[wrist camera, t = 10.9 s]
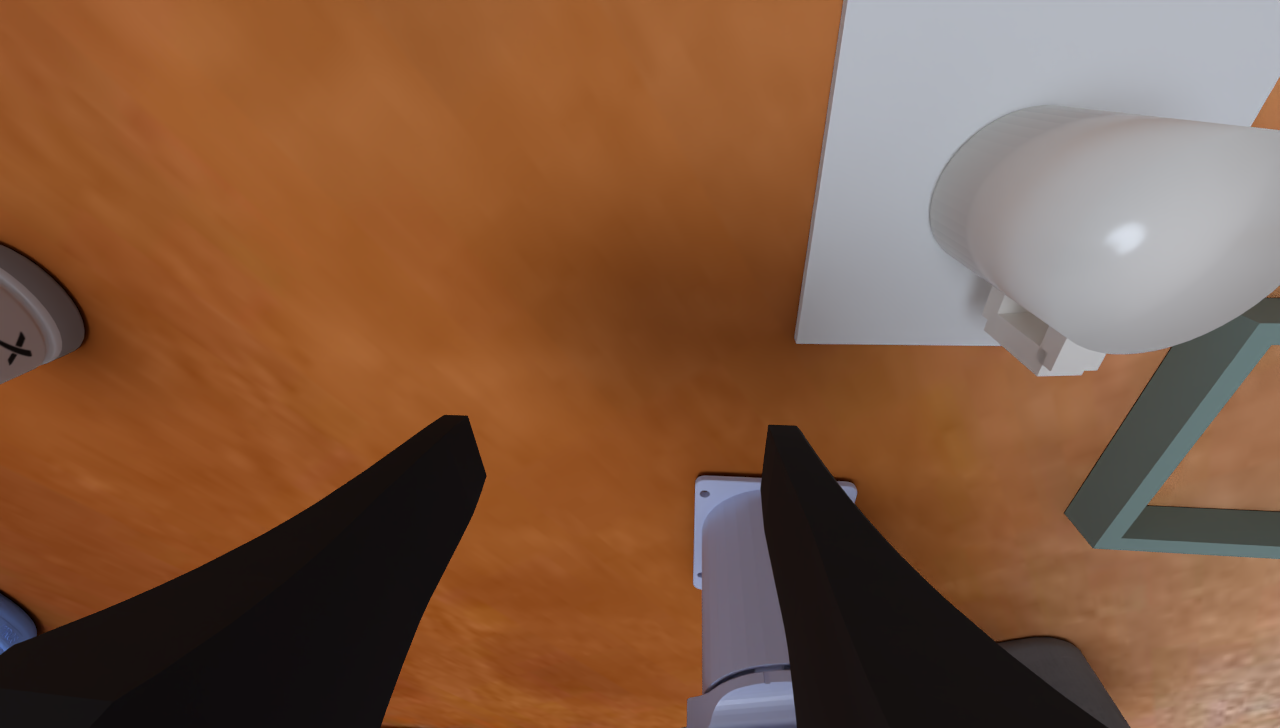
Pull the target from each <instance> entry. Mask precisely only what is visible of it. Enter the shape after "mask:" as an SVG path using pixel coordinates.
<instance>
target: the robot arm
mask: <svg viewBox="0 0 1280 728" xmlns="http://www.w3.org/2000/svg"><path fill="white" fill-rule="evenodd" d="M485 479H486V473H485V469H484V466H483V463H482V460H481V457H480V454H479V450H478V447H477V444H476V441H475V438H474V434H473V431H472V428H471V425H470V422H469V418H468V416H460V415H444V416H442V417H440V418H439V419H437V420H436V421H434V422H433V423H431V424H430V425H428V426H427V427H426V428H424V429H423V430H421V431H420V432H418V433H417V434H416V435H414V436H413V437H411V438H410V439H409V440H407V441H406V442H405V443H403V444H402V445H400V446H399V447H398V448H396V449H395V450H393V451H392V452H391V453H389V454H388V455H386V456H385V457H384V458H382V459H381V460H379V461H378V462H377V463H375V464H374V465H372V466H371V467H370V468H368V469H367V470H365V471H364V472H362V473H361V474H359V475H358V476H356V477H355V478H353V479H352V480H350V481H349V482H347V483H346V484H344V485H343V486H341V487H340V488H338V489H337V490H335V491H334V492H332V493H331V494H329V495H328V496H326V497H325V498H323V499H322V500H320V501H319V502H317V503H315V504H314V505H312V506H311V507H309V508H307V509H306V510H304V511H302V512H301V513H299V514H298V515H296V516H294V517H292V518H291V519H289V520H287V521H285V522H284V523H282V524H280V525H278V526H277V527H275V528H273V529H272V530H270V531H268V532H266V533H264V534H263V535H261V536H259V537H257V538H255V539H253V540H251V541H249V542H247V543H246V544H244V545H242V546H240V547H238V548H236V549H234V550H232V551H230V552H228V553H226V554H224V555H222V556H220V557H218V558H216V559H214V560H212V561H210V562H208V563H206V564H204V565H202V566H201V567H198V568H196V569H194V570H192V571H190V572H188V573H186V574H184V575H181V576H179V577H177V578H175V579H173V580H171V581H168V582H166V583H164V584H162V585H160V586H157V587H155V588H153V589H151V590H148V591H146V592H144V593H142V594H139V595H137V596H135V597H132V598H130V599H128V600H126V601H123V602H121V603H118V604H116V605H114V606H111V607H109V608H107V609H104V610H102V611H99V612H97V613H94V614H92V615H89V616H86V617H84V618H81V619H79V620H76V621H74V622H71V623H69V624H66V625H64V626H61V627H59V628H56V629H54V630H51V631H48V632H46V633H43V634H41V635H38V636H36V637H33V638H31V639H28V640H25V641H23V642H20V643H17V644H14V645H13V646H11V647H10V648H8V649H7V650H6V651H4V652H3V653H2V654H1V655H0V728H380V727H381V724H382V721H383V718H384V715H385V712H386V709H387V706H388V704H389V701H390V698H391V695H392V693H393V690H394V687H395V684H396V682H397V679H398V676H399V674H400V671H401V668H402V665H403V663H404V660H405V658H406V655H407V653H408V650H409V648H410V645H411V642H412V640H413V637H414V635H415V632H416V630H417V627H418V625H419V622H420V620H421V618H422V615H423V613H424V611H425V609H426V607H427V605H428V602H429V600H430V598H431V596H432V594H433V592H434V590H435V589H436V587H437V585H438V583H439V581H440V579H441V577H442V575H443V573H444V571H445V569H446V567H447V565H448V563H449V561H450V559H451V557H452V555H453V553H454V551H455V549H456V548H457V546H458V544H459V542H460V540H461V538H462V536H463V534H464V532H465V530H466V528H467V526H468V524H469V522H470V519H471V517H472V515H473V513H474V510H475V508H476V505H477V502H478V500H479V497H480V494H481V491H482V488H483V485H484V482H485ZM703 491H707V492H703ZM856 496H857V489H856V486H855V485H854V484H853V483H851V482H846V481H836V480H835V479H834V477H833V476H832V475H831V473H830V472H829V471H828V469H827V468H826V467H825V465H824V464H823V462H822V461H821V460H820V458H819V457H818V455H817V454H816V453H815V451H814V450H813V448H812V447H811V445H810V444H809V442H808V441H807V439H806V438H805V436H804V435H803V433H802V432H801V430H800V429H799V428H798V427H797V426H788V425H768V432H767V439H766V447H765V455H764V463H763V471H762V478H754V477H731V476H709V475H704V476H700V477H698V478H697V479H696V481H695V521H694V570H693V584H694V586H695V587H696V588H698V589H702V695H701V696H697V697H691V698H688V699H687V727H683V728H1108V727H1107V726H1105V725H1104V724H1102V723H1101V722H1100V721H1098V720H1097V719H1095V718H1094V717H1093V716H1091V715H1090V714H1088V713H1087V712H1086V711H1084V710H1083V709H1081V708H1080V707H1079V706H1077V705H1076V704H1074V703H1073V702H1072V701H1070V700H1069V699H1068V698H1066V697H1065V696H1063V695H1062V694H1061V693H1059V692H1058V691H1057V690H1055V689H1054V688H1053V687H1052V686H1050V685H1049V684H1048V683H1046V682H1045V681H1044V680H1043V679H1041V678H1040V677H1039V676H1037V675H1036V674H1035V673H1034V672H1032V671H1031V670H1030V669H1029V668H1027V667H1026V666H1025V665H1023V664H1022V663H1021V662H1020V661H1018V660H1017V659H1016V658H1014V657H1013V656H1012V655H1011V654H1009V653H1008V652H1007V651H1006V650H1005V649H1003V648H1002V647H1001V646H1000V645H998V644H997V643H996V642H995V641H994V640H993V639H991V638H990V637H989V636H988V635H987V634H986V633H984V632H983V631H982V630H981V629H980V628H979V627H977V626H976V625H975V624H974V623H973V622H972V621H970V620H969V619H968V618H967V617H966V616H965V615H963V614H962V613H961V612H960V611H959V610H958V609H956V608H955V607H954V606H953V605H952V604H951V603H949V602H948V601H947V600H946V599H945V598H944V597H943V596H942V595H941V594H940V593H939V592H938V591H937V590H935V589H934V588H933V587H932V586H931V585H930V584H929V583H928V582H927V581H926V580H925V579H924V578H923V577H922V576H921V575H920V574H919V573H918V572H917V571H916V570H915V569H914V568H913V567H912V566H911V565H910V564H909V563H908V562H907V561H906V560H905V559H904V558H903V557H902V556H901V555H900V554H899V553H898V552H897V551H896V550H895V549H894V548H893V547H892V546H891V545H890V544H889V543H888V542H887V540H886V539H885V538H884V537H883V536H882V535H881V534H880V533H879V532H878V530H877V529H876V528H875V527H874V526H873V525H872V524H871V523H870V521H869V520H868V519H867V518H866V517H865V516H864V515H863V513H862V512H861V511H860V510H859V509H858V507H857V506H856V505H855V504H854V503H855V500H856Z"/></svg>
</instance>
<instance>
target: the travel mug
mask: <svg viewBox="0 0 1280 728" xmlns="http://www.w3.org/2000/svg"><path fill="white" fill-rule="evenodd" d="M84 333H85V330H84V325H83V320H82V317H81V315H80V313H79V310H78V309H77V307H76V305H75V304H74V302H73V301H72V299H71V298H70V297H69V295H68V294H67V293H66V292H65V290H64V289H63V288H62V287H61V286H60V285H59V284H58V283H57V282H56V281H55V280H54V279H53V278H52V277H51V276H50V275H48V274H47V273H46V272H45V271H44V270H43V269H41V268H40V267H39V266H37V265H36V264H34V263H33V262H32V261H30V260H29V259H27V258H26V257H24V256H22V255H20V254H19V253H17V252H15V251H13V250H11V249H9V248H7V247H5V246H3V245H0V384H2V383H4V382H6V381H9V380H11V379H13V378H15V377H17V376H20V375H22V374H24V373H26V372H29V371H31V370H33V369H35V368H36V367H38V366H39V365H43V364H46V363H49V362H51V361H53V360H55V359H57V358H60V357H62V356H64V355H66V354H68V353H71V352H73V351H75V350H76V349H77V348H79V347H80V345H81V343H82V341H83V339H84Z"/></svg>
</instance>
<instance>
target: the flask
mask: <svg viewBox="0 0 1280 728" xmlns="http://www.w3.org/2000/svg"><path fill="white" fill-rule="evenodd" d="M997 644H998V645H1000V646H1001V647H1002V648H1003V649H1005V650H1006V651H1007V652H1008V653H1009V654H1011V655H1012V656H1013V657H1014V658H1016V659H1017V660H1018V661H1020V662H1021V663H1022V664H1023V665H1025V666H1026V667H1027V668H1029V669H1030V670H1031V671H1032V672H1034V673H1035V674H1036V675H1037V676H1039V677H1040V678H1041V679H1043V680H1044V681H1045V682H1046V683H1048V684H1049V685H1050V686H1052V687H1053V688H1054V689H1055V690H1057V691H1058V692H1059V693H1061V694H1062V695H1063V696H1065V697H1066V698H1068V699H1069V700H1070V701H1072V702H1073V703H1074V704H1076V705H1077V706H1079V707H1080V708H1081V709H1083V710H1084V711H1086V712H1087V713H1088V714H1090V715H1091V716H1093V717H1094V718H1095V719H1097V720H1098V721H1100V722H1101V723H1102V724H1104V725H1105V726H1107V727H1108V728H1130V726H1129V725H1128V723H1127V722H1126V720H1125V719H1124V717H1123V715H1122V714H1121V712H1120V711H1119V709H1118V708H1117V706H1116V705H1115V703H1114V702H1113V700H1112V699H1111V697H1110V696H1109V694H1108V693H1107V691H1106V690H1105V688H1104V686H1103V685H1102V683H1101V682H1100V680H1099V679H1098V677H1097V676H1096V674H1095V673H1094V671H1093V670H1092V668H1091V667H1090V665H1089V664H1088V662H1087V660H1086V659H1085V657H1084V656H1083V654H1082V653H1081V651H1080V650H1079V649H1078V648H1076V647H1075V646H1074V645H1072V644H1071V643H1069V642H1066V641H1064V640H1060V639H1056V638H1052V637H1031V638H1025V639H1019V640H1013V641H1007V642H1001V643H997Z"/></svg>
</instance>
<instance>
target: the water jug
mask: <svg viewBox="0 0 1280 728" xmlns="http://www.w3.org/2000/svg"><path fill="white" fill-rule="evenodd" d="M36 636H37V629H36V626H35V624H34V622H33V621H32V619H31V618H30V617H29V616H28V615H27V614H26V613H25V612H24V611H23V610H22V609H21V608H20V607H19V606H18V605H16V604H15V603H14V602H12V601H11V600H10V599H8V598H7V597H5V596H4V595H2V594H1V593H0V655H1V654H2V653H3V652H4V651H6V650H7V649H8V648H10V647H11V646H13V645H14V644H17V643H20V642H23V641H25V640H28V639H31V638H33V637H36Z"/></svg>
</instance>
